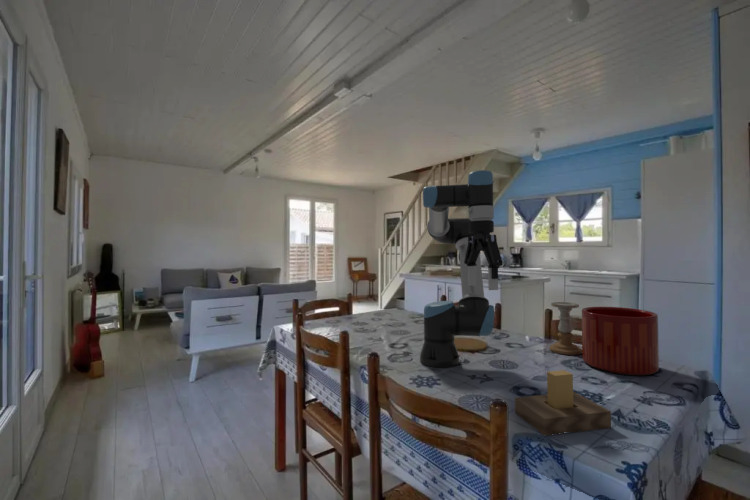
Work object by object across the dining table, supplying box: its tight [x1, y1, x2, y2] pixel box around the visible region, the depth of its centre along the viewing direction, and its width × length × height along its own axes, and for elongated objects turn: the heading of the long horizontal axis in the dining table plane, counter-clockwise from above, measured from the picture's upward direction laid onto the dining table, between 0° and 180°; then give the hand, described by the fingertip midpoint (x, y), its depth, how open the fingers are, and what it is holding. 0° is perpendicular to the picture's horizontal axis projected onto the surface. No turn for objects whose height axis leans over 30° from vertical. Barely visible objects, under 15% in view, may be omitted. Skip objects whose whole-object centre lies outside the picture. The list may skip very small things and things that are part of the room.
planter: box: [581, 306, 660, 377], centre depth 128 cm, size 23×23×20 cm
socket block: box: [514, 391, 612, 437], centre depth 88 cm, size 18×12×4 cm, turn 100°
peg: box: [546, 369, 574, 409], centre depth 88 cm, size 3×5×12 cm, turn 101°
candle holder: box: [549, 301, 582, 356], centre depth 148 cm, size 12×12×20 cm
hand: (482, 287), depth 109 cm, fingers open, 13 cm apart
